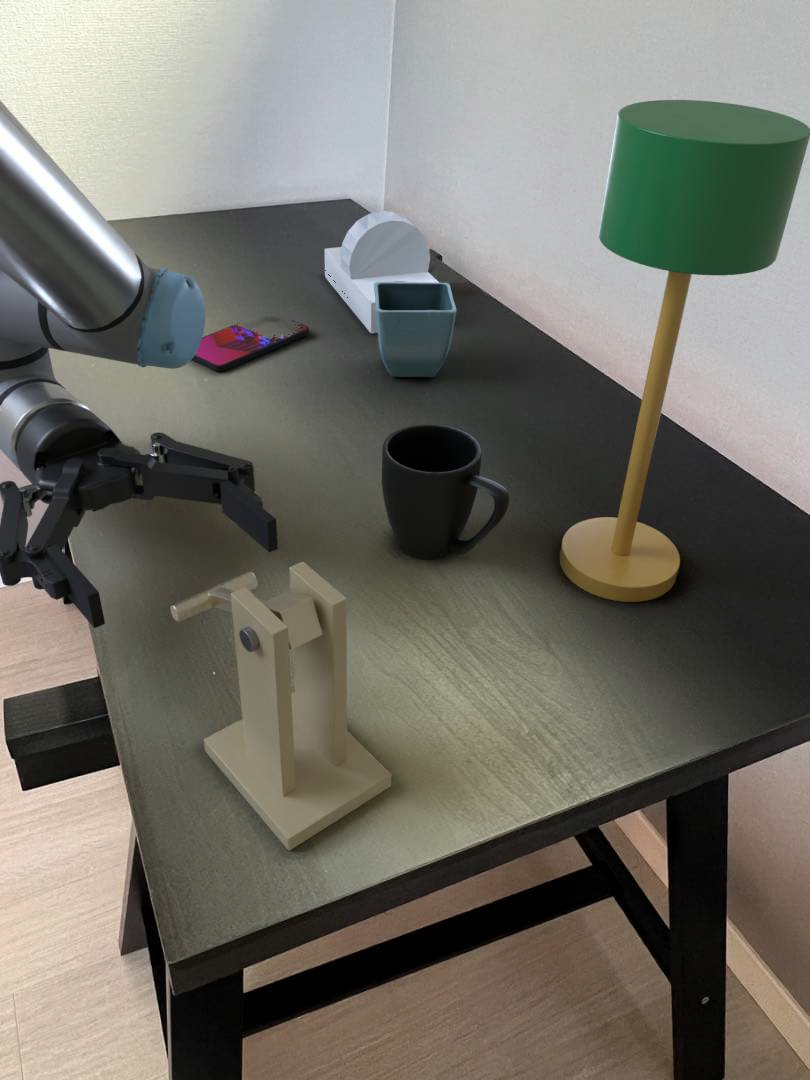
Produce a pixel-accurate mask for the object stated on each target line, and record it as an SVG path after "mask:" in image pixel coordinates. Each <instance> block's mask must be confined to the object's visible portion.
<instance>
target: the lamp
mask: <svg viewBox="0 0 810 1080" xmlns="http://www.w3.org/2000/svg"><path fill="white" fill-rule="evenodd" d="M614 129H615V130H614V135H613V142H612V147H611V154H610V155H611V156H610V160H609V166H608V171H607V172H608V174H607V180H606V185H605V192H604V198H603V205H602V211H601V217H600V222H599V223H600V224H599V229H598V238H599V242H600V243H601V244H602V246H603V247H605V248H606V249H607V250H609V251H610V252H612V253H613V254H614V255H616V256H619V257H621V258H623V259H625V260H628V261H630V262H633V263H636V264H639V265H643V266H645V267H650V268H652V269H657V270H661V271H665V272H666V271H667V276H666V277H667V278H666V280H665V281H666V282H665V287H664V292H663V297H662V300H661V306H660V311H659V315H658V321H657V325H656V329H655V335H654V340H653V345H652V349H651V353H650V354H651V355H650V359H649V364H648V369H647V373H646V377H645V384H644V388H643V392H642V398H641V402H640V407H639V412H638V417H637V422H636V426H635V427H636V428H635V431H634V436H633V441H632V447H631V451H630V456H629V461H628V465H627V471H626V475H625V480H624V485H623V490H622V494H621V499H620V504H619V509H618V514H617V517H610V516H605V517H602V516H601V517H593V518H589V519H585V520H582V521H579V522H577V523H575V524H574V525H572V526H571V527H570V528H569V529H568V530H567V531H566V532H565V533H564V535H563V537H562V540H561V544H560V545H561V546H560V549H559V550H560V552H559V564H560V567H561V570H562V571H563V573H564V574H565V576H566V577H567V578H568V579H569V581H571V582H572V583H573V584H574V585H576V586H577V587H579V588H580V589H581V590H583V591H585V592H588V593H589V594H590V595H591V594H592V595H594V596H597V597H599V598H602V599H606V600H611V601H614V602H623V603H639V602H646V601H651V600H655V599H657V598H660V597H661V596H663V595H665V594H666V593H667V592H669V591H670V590H671V589H672V588H673V586H674V585H675V583H676V581H677V577H678V574H679V570H680V567H681V557H680V553H679V550H678V548H677V547H676V545H675V544H674V543H673V542H672V541H671V540H670V538H669V537H667V536H666V535H665V534H664V533H662V532H661V531H659V530H658V529H656V528H654V527H652V526H650V525H648V524H645V523H642V522H639V521H638V518H639V513H640V511H641V505H642V500H643V497H644V496H643V495H644V493H645V492H644V491H645V487H646V482H647V479H648V478H647V477H648V473H649V469H650V464H651V459H652V456H653V452H654V451H653V450H654V447H655V442H656V438H657V434H658V433H657V432H658V428H659V423H660V420H661V416H662V411H663V405H664V403H665V397H666V392H667V387H668V384H669V380H670V379H669V378H670V374H671V370H672V366H673V361H674V356H675V351H676V347H677V343H678V338H679V334H680V330H681V324H682V320H683V315H684V310H685V306H686V302H687V297H688V293H689V288H690V284H691V280H692V275H695V276H696V275H697V276H736V275H745V274H750V273H755V272H759V271H762V270H764V269H767V268H768V267H770V266H772V265H773V264H774V263H775V262H776V260H777V258H778V254H779V251H780V248H781V244H782V240H783V236H784V233H785V229H786V226H787V222H788V217H789V215H790V211H791V208H792V204H793V200H794V196H795V192H796V189H797V185H798V181H799V178H800V174H801V171H802V167H803V165H804V164H803V163H804V160H805V157H806V152H807V149H808V145H809V141H810V127H809V126H808V125H807V124H806V123H804V122H802V121H801V120H798V119H796V118H794V117H792V116H789V115H786V114H783V113H780V112H776V111H773V110H769V109H764V108H760V107H754V106H748V105H742V104H737V103H730V102H729V103H728V102H721V101H712V100H710V101H709V100H696V99H695V100H694V99H658V100H657V99H656V100H646V101H640V102H634V103H631V104H630V103H629V104H628V105H625V106H622V107H621V108H620V109H618V112H617V116H616V121H615V128H614Z"/></svg>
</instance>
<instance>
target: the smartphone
mask: <svg viewBox="0 0 810 1080" xmlns="http://www.w3.org/2000/svg"><path fill="white" fill-rule="evenodd" d="M293 321H294V322H295V321H296V320H293ZM238 323H239V322H237V323H236V324H238ZM298 323H300V324H299V325H297V326H301V327H300V328H297V327H296V328H297V329H299V331H298V330H295V331H297V333H294V332H293V335H290V334H288V335H289V336H288V337H287V336H282V335H283V334H282V335H281V337H280V338H278V337H274V336H275V335H274V336H273V338H272V339H270V338H267V337H265V336H263V335H260V334H258V333H257V332H258V331H257V332H253V331H254V330H253V331H250V330H251V329H250V330H248V329H245V328H243V327H241V326H238V325H235V324H232V325H230V326H228V327H225V328H223V329H220V330H217V331H215V332H213V333H209V334H207V335H204V336H202V339H201V342H200V346H199V348H198V350H197V352H196V354H195V355H194V357H193V358H192V360H191V361H194V362H196V363H199V365H200V364H201V365H202V366H204V367H206V368H208V369H211V370H213V371H215V372H223V371H226V370H228V369H230V368H233V367H235V366H238V365H240V364H242V363H245V362H246V361H247V362H248V361H249V360H252V359H255V358H256V357H259V356H261V355H263V354H266V353H268V352H271V351H273V350H275V349H278V348H279V347H282V346H284V345H287V344H290V343H292V342H294V341H296V340H298V339H300V338H303V337H306V336H307V335H309V334H310V327H309V326H308V325H305V324H303V323H301V322H298ZM298 323H297V324H298ZM233 325H234V326H233ZM295 325H296V324H295ZM300 329H301V330H300ZM285 337H286V338H285ZM276 338H278V339H276Z"/></svg>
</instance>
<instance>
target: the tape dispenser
mask: <svg viewBox="0 0 810 1080" xmlns="http://www.w3.org/2000/svg"><path fill="white" fill-rule="evenodd" d="M430 262H431V253H430V245H429V244H428V241H427V239H426V237H425V234H423V233H422V232H421V231H420V230H419V228H417V227H416V226H415V225H414V224H413V223H412V222H411V221H410V220H408V219H407V218H406V216H404V215H401V214H399V213H397V212H395V211H387V210H379V211H374V212H370V213H368V214H366V215H364V216H363V217H361V218H359V219H358V220H356V221H355V223H353V225H352V226H351V227H350V228H349V229H348V230H347V232H346V235H345V237H344V238H343V241H342V243H341V246H337V247H336V246H335V247H326V248H324V277H325V279H326V280H327V281H328V282H329V284H330V285H331V287H332V288H333V289H334V290H335V292H336V293H337V294H338V295H339V296H340V298H341V299H342V300H343V301H344V303H346V305H347V306H348V307H349V309H350V310H351V311H352V312H353V313H354V315H355V316H356V317H357V319H358V320H359V321H360V322H361V323H362V324H363V326H364V327H365V328H366V330H367V331H368V332H369V333H370V334H378V329H377V318H376V304H375V293H374V283H376V282H425V283H426V282H433V283H440V281H438V280H437V279H436V278H435V277H434V276H433V275H432V274H431V273H430V272H429V268H430ZM325 270H326V271H325ZM328 274H329V275H330V276H331V277H330V276H329V275H328ZM333 280H334V281H335V282H336V283H335V282H334V281H333ZM342 291H343V292H342ZM344 293H345V294H344ZM347 297H348V298H347Z"/></svg>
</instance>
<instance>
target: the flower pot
mask: <svg viewBox="0 0 810 1080" xmlns="http://www.w3.org/2000/svg"><path fill="white" fill-rule="evenodd" d="M374 293H375V304H376V318H377V329H378V333H377V341H378V348H379V354H380V357H381V360H382V363H383V365H384V367H385V369H386V371H387V372H388V374H389V375H390V376H391V377H393V378H433V377H435V376H436V375H437V374H438V372H439V371H440V370H441V369H442V367H443V366H444V364H445V362H446V360H447V357H448V355H449V351H450V348H451V345H452V339H453V333H454V328H455V322H456V315H457V307H456V303H455V301H454V296H453V292H452V289H451V285H450V283H449V282H439V283H433V282H426V283H425V282H376V283H374Z"/></svg>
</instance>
